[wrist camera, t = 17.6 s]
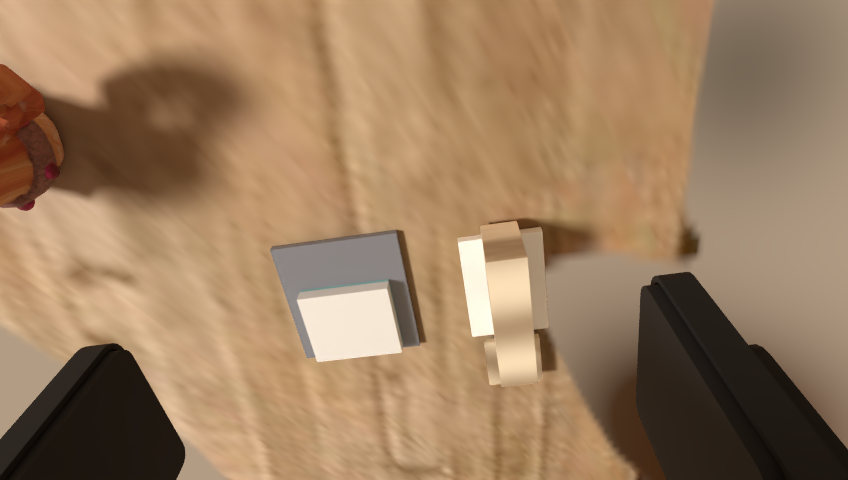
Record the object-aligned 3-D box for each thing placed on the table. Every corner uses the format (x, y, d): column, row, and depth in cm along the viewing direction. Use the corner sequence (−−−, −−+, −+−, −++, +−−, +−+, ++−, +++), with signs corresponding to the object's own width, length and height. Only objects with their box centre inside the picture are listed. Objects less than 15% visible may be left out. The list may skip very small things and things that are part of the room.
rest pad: (457, 237, 45) (457, 242, 44) (540, 226, 44) (542, 231, 43) (471, 331, 49) (472, 336, 49) (547, 322, 49) (548, 328, 48)
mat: (272, 246, 46) (270, 250, 45) (396, 229, 44) (395, 233, 44) (308, 354, 51) (307, 358, 51) (420, 341, 50) (419, 345, 49)
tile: (296, 299, 46) (317, 361, 49) (387, 288, 45) (401, 352, 48) (300, 290, 47) (320, 351, 50) (388, 279, 46) (402, 341, 49)
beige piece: (467, 227, 43) (471, 264, 38) (528, 219, 43) (541, 255, 38) (488, 378, 51) (494, 426, 46) (541, 373, 50) (553, 421, 45)
